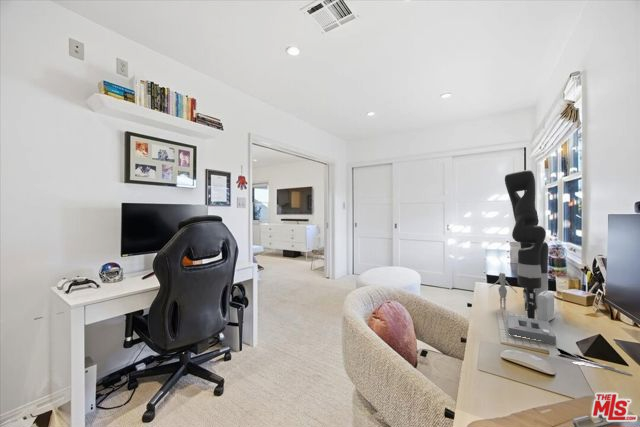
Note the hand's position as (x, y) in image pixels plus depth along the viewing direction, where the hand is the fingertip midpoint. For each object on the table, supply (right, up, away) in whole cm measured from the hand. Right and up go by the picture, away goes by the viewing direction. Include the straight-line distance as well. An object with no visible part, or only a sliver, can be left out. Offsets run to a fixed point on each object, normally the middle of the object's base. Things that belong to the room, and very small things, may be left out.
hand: (529, 314), depth 106 cm
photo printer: (+18, -7, +13) cm, 23 cm away
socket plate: (0, -7, 0) cm, 7 cm away
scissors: (0, -8, -21) cm, 22 cm away
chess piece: (0, -7, 0) cm, 7 cm away
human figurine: (+7, -7, +26) cm, 28 cm away
